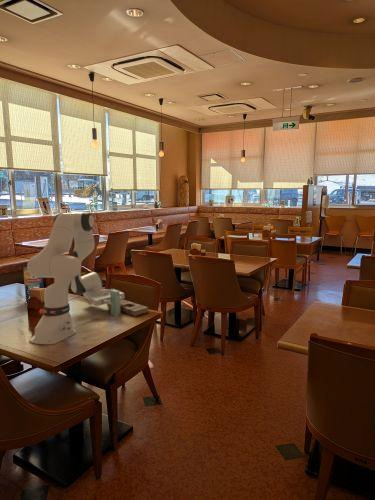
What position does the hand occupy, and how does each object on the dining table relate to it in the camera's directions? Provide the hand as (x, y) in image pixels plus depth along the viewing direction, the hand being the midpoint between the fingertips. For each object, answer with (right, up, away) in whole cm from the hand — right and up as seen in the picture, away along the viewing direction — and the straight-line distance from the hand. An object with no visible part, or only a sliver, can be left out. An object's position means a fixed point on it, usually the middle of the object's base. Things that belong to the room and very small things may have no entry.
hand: (116, 301), depth 206 cm
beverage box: (-58, -4, +29) cm, 65 cm away
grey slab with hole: (+6, -7, +9) cm, 13 cm away
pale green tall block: (-1, -8, +2) cm, 8 cm away
